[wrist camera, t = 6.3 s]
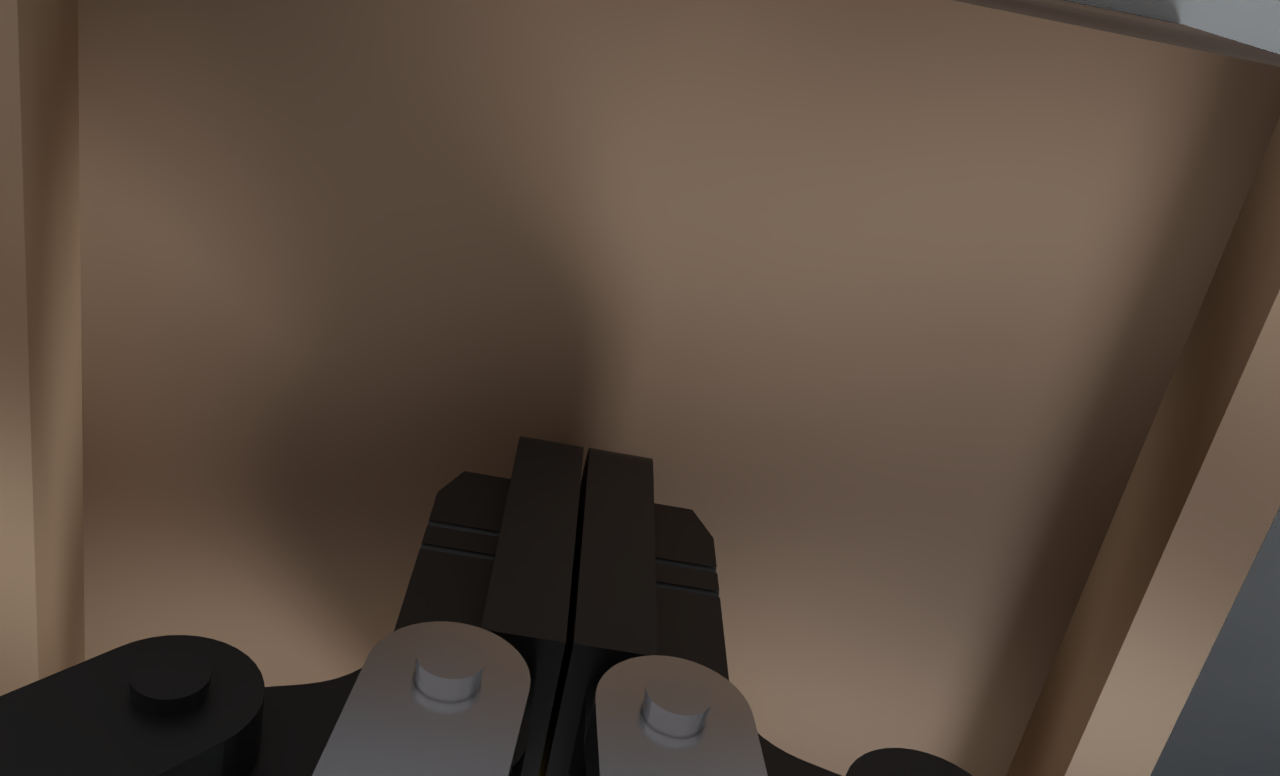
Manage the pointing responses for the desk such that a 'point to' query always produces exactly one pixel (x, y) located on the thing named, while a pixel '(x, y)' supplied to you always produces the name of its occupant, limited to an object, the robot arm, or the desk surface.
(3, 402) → the wooden box
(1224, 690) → the desk surface
